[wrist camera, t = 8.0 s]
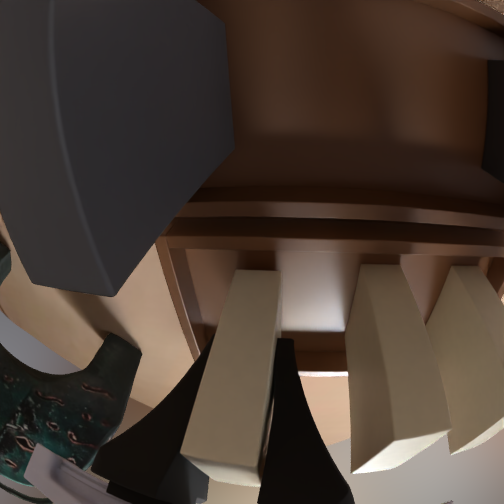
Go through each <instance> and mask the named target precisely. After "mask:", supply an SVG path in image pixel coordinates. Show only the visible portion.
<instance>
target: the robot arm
mask: <svg viewBox="0 0 504 504" xmlns="http://www.w3.org/2000/svg"><path fill="white" fill-rule="evenodd" d="M215 334H216V333H214V334H213V335H212V337H211V338H210V340H209V341H208V343H207V345H206V346H205V348H204V349H203V351H202V352H201V354H200V355H199V357H198V358H197V360H196V361H195V362H194V364H193V365H192V366H191V368H190V369H189V370H188V372H187V373H186V374H185V376H184V377H183V378H182V379H181V380H180V382H179V383H178V384H177V385H176V386H175V387H174V389H173V390H172V391H171V392H170V393H169V394H168V395H167V396H166V397H165V398H164V399H163V400H162V401H161V402H160V403H159V404H158V405H157V406H156V407H155V408H154V409H153V410H152V411H151V412H150V413H148V414H147V415H146V416H145V417H144V418H143V419H141V420H140V421H139V422H137V423H136V424H135V425H133V426H132V427H131V428H129V429H128V430H126V431H125V432H124V433H122V434H121V435H119V436H117V437H116V438H114V439H112V440H111V441H109V442H107V443H105V444H104V445H102V446H100V448H99V450H98V452H97V454H96V456H95V459H94V461H93V464H92V467H91V471H92V472H93V473H95V474H97V475H99V476H101V477H103V478H105V479H108V480H110V481H109V483H107V482H105V481H103V480H101V479H98V478H97V477H95V476H93V475H91V474H89V473H87V472H85V471H83V470H82V469H80V468H79V467H78V466H76V465H74V464H73V463H71V462H69V461H67V460H66V459H64V458H62V457H61V456H59V455H56V454H55V453H53V452H52V451H50V450H49V449H47V448H46V447H44V446H42V445H41V444H39V443H37V444H36V447H35V449H34V451H33V454H32V456H31V458H30V461H29V463H28V466H27V468H26V471H25V474H24V478H25V479H27V480H28V481H29V482H30V483H31V484H32V485H34V486H35V487H36V488H37V489H38V490H40V491H41V492H42V493H43V494H44V495H45V496H46V497H48V498H49V499H50V500H51V501H52V502H53V503H54V504H196V503H197V504H201V503H203V502H205V501H206V500H207V493H208V484H209V476H208V475H206V474H205V473H204V472H203V471H201V470H200V469H199V468H197V467H196V466H195V465H194V464H192V463H191V462H190V461H189V460H188V459H186V458H185V457H184V456H183V455H182V454H180V450H181V447H182V444H183V440H184V437H185V433H186V430H187V427H188V423H189V420H190V417H191V413H192V410H193V406H194V403H195V400H196V396H197V393H198V390H199V386H200V383H201V380H202V377H203V373H204V370H205V367H206V363H207V360H208V357H209V354H210V350H211V347H212V344H213V341H214V337H215ZM257 503H258V504H355V502H354V498H353V495H352V492H351V489H350V487H349V485H348V484H347V482H346V481H345V479H344V478H343V476H342V475H341V473H340V471H339V470H338V468H337V466H336V464H335V463H334V461H333V459H332V458H331V456H330V454H329V452H328V450H327V448H326V446H325V444H324V442H323V440H322V438H321V436H320V434H319V431H318V429H317V427H316V424H315V422H314V420H313V417H312V415H311V412H310V409H309V406H308V404H307V401H306V398H305V394H304V391H303V388H302V384H301V380H300V377H299V373H298V368H297V363H296V357H295V349H294V340H293V339H292V338H277V345H276V352H275V359H274V404H273V414H272V421H271V428H270V434H269V441H268V447H267V453H266V459H265V465H264V470H263V476H262V481H261V486H260V491H259V496H258V501H257ZM442 504H453V501H448V502H445V503H442Z"/></svg>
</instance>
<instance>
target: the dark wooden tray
mask: <svg viewBox="0 0 504 504" xmlns="http://www.w3.org/2000/svg"><path fill="white" fill-rule="evenodd" d="M196 1H197V2H198V3H200V4H201V5H202V6H204V7H205V8H206V9H208V10H209V11H210V12H211V13H213V14H214V15H215V16H216V17H218V18H219V19H220V20H221V21H223V22H224V23H225V31H226V44H227V57H228V70H229V82H230V95H231V107H232V119H233V131H234V142H235V149H234V150H233V151H232V152H231V153H230V154H229V155H228V157H227V158H226V159H225V160H224V161H223V162H222V163H221V164H220V165H219V166H218V167H217V169H216V170H215V171H214V172H213V173H212V174H211V175H210V176H209V177H208V179H207V180H206V181H205V182H204V183H203V184H202V185H201V187H200V188H199V189H198V190H197V191H196V192H195V194H194V195H193V196H192V197H191V198H190V199H189V201H188V202H187V203H186V204H185V205H184V207H183V208H182V209H181V210H180V211H179V213H178V214H177V215H176V216H175V217H217V216H248V217H311V218H342V219H365V220H385V221H403V222H418V223H432V224H445V225H457V226H469V227H479V228H489V229H499V230H504V184H503V183H502V182H500V181H499V180H497V179H496V178H495V177H493V176H492V175H490V174H489V173H487V172H486V171H484V170H483V169H482V168H481V167H482V160H483V154H484V146H485V138H486V128H487V115H488V60H504V15H503V14H501V13H499V12H498V11H496V10H494V9H492V8H490V7H489V6H487V5H485V4H483V3H481V2H479V1H477V0H196Z"/></svg>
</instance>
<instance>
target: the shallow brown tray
mask: <svg viewBox="0 0 504 504" xmlns="http://www.w3.org/2000/svg"><path fill="white" fill-rule="evenodd" d="M155 245H156V248H157V252H158V255H159V259H160V262H161V266H162V269H163V272H164V276H165V279H166V282H167V285H168V288H169V291H170V295H171V298H172V301H173V304H174V307H175V310H176V313H177V315H178V318H179V321H180V324H181V327H182V330H183V332H184V335H185V338H186V341H187V343H188V346H189V349H190V351H191V354H192V356H193V359H194V361H196V360H197V358H198V357H199V355H200V354H201V352H202V351H203V349H204V348H205V346H206V345H207V343H208V341H209V340H210V338H211V337H212V335H213V334H214V333H216V331H217V328H218V324H219V321H220V318H221V315H222V311H223V308H224V305H225V302H226V299H227V295H228V292H229V289H230V286H231V283H232V280H233V276H234V273H235V270H264V271H281V273H282V307H281V338H292V339H293V340H294V349H295V357H296V363H297V368H298V373H299V376H348V367H347V356H346V345H345V332H346V328H347V324H348V321H349V317H350V313H351V308H352V304H353V300H354V296H355V291H356V287H357V282H358V277H359V272H360V267H361V264H386V265H401V267H402V270H403V272H404V274H405V276H406V279H407V281H408V283H409V286H410V288H411V291H412V293H413V296H414V298H415V301H416V303H417V306H418V308H419V311H420V314H421V316H422V319H423V322H424V324H425V326H426V324H427V322H428V320H429V318H430V316H431V313H432V311H433V309H434V307H435V305H436V303H437V300H438V298H439V296H440V293H441V291H442V289H443V286H444V284H445V281H446V279H447V276H448V274H449V271H450V268H451V266H479V267H480V269H481V270H482V272H483V273H484V275H485V276H486V277H487V279H488V281H489V282H490V284H491V285H492V287H493V288H494V290H495V291H496V293H497V295H498V296H499V298H500V300H501V298H502V296H503V294H504V230H499V229H489V228H479V227H469V226H457V225H445V224H432V223H418V222H403V221H385V220H365V219H342V218H311V217H248V216H217V217H174V219H173V220H172V221H171V222H170V224H169V225H168V226H167V227H166V229H165V230H164V231H163V232H162V234H161V235H160V236H159V237H158V239H157V240H156V241H155Z"/></svg>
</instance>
